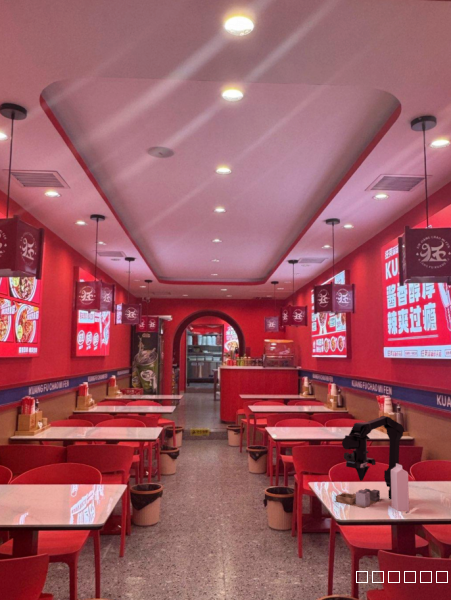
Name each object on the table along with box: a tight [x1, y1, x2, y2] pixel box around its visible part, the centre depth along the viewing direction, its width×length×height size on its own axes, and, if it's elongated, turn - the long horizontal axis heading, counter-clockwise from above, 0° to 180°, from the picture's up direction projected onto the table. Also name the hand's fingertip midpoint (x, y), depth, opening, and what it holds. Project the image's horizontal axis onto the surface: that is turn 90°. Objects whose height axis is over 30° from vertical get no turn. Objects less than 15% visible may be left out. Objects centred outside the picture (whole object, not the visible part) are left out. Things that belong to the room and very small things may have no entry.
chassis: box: [334, 489, 384, 509], centre depth 243 cm, size 16×22×6 cm
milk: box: [390, 463, 410, 514], centre depth 231 cm, size 6×6×22 cm
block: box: [355, 489, 371, 508], centre depth 235 cm, size 5×5×7 cm
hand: (361, 480), depth 238 cm, fingers closed
